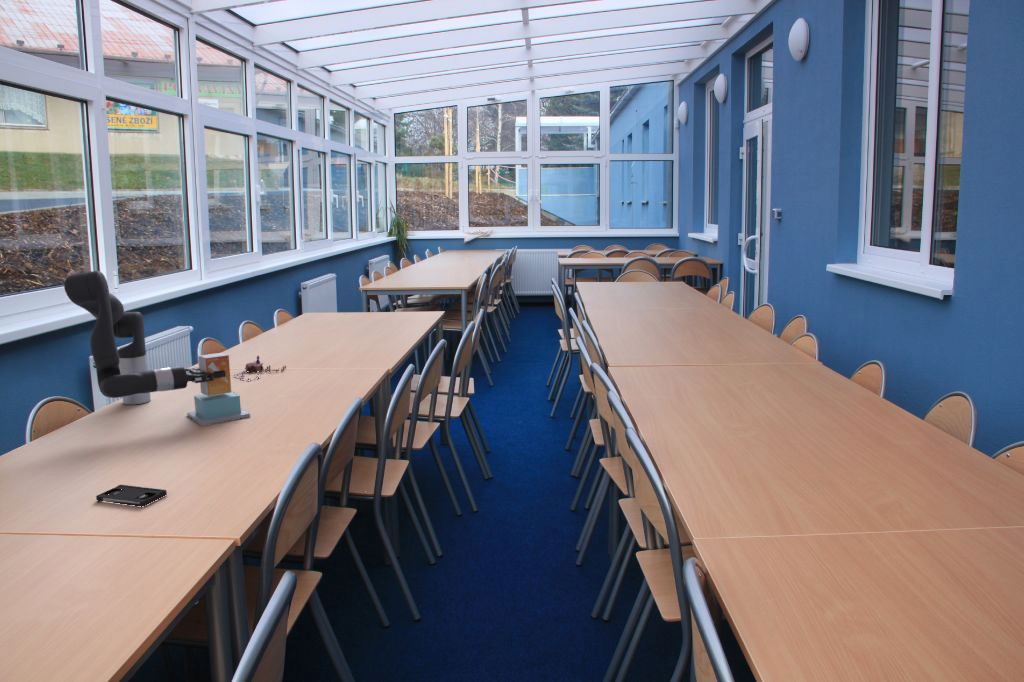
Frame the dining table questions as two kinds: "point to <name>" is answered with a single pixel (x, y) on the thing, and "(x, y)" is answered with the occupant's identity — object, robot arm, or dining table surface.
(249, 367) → the playset
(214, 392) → the small box
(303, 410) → the dining table surface
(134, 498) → the vhs tape
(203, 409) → the tower base
